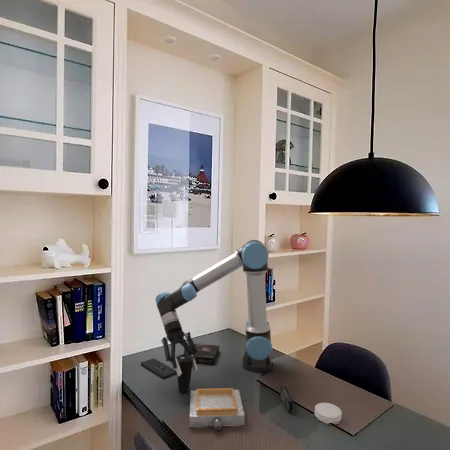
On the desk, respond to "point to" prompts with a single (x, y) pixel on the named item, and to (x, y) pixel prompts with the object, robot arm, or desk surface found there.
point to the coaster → (328, 412)
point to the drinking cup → (184, 370)
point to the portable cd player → (206, 353)
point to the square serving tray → (216, 408)
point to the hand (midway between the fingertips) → (188, 372)
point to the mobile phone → (287, 399)
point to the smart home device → (158, 368)
